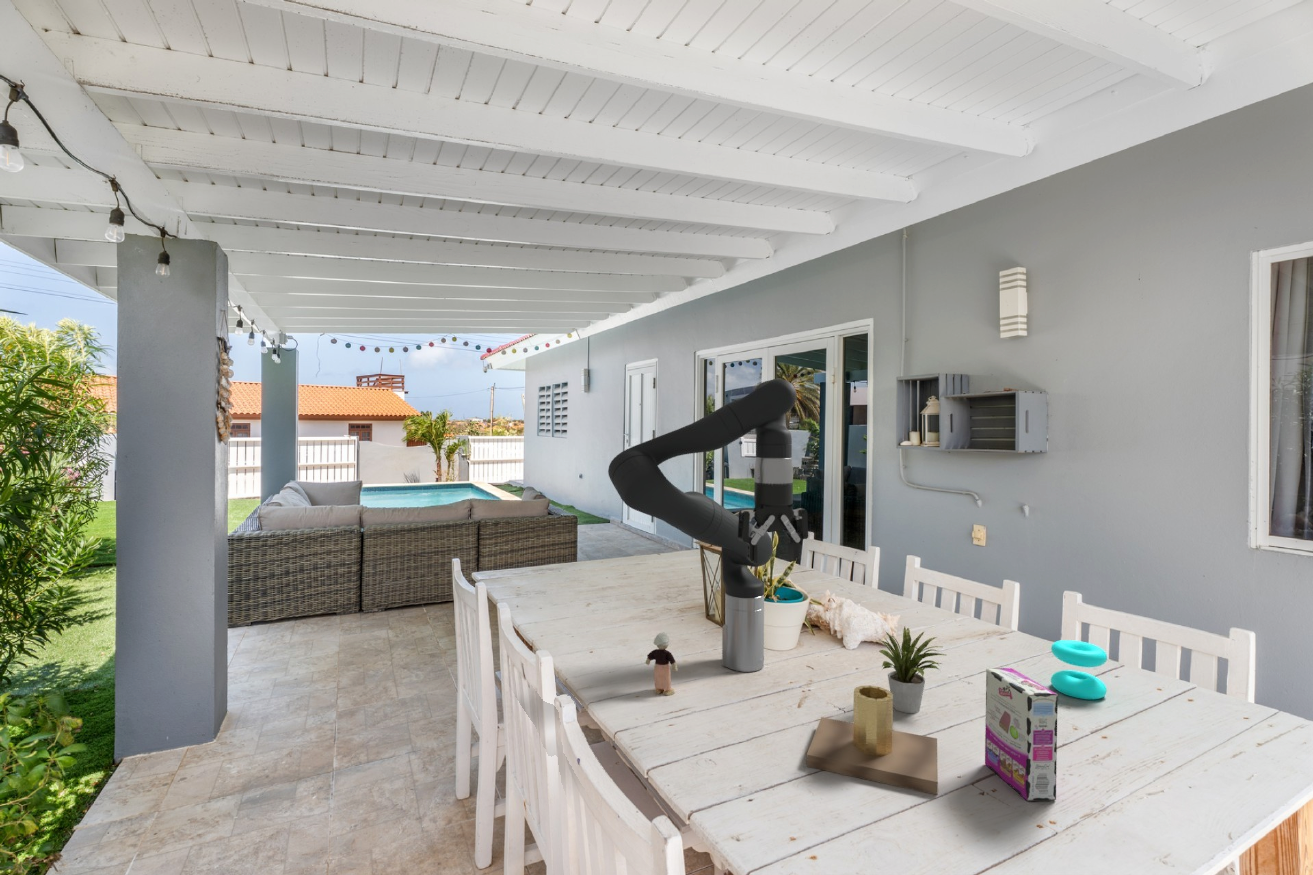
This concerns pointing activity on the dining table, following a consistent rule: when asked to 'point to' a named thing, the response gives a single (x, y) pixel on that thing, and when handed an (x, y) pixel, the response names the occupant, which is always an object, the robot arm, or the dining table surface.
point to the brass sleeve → (873, 720)
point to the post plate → (876, 757)
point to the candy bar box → (1021, 733)
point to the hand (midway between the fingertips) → (773, 561)
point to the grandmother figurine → (662, 665)
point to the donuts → (1074, 680)
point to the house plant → (907, 671)
